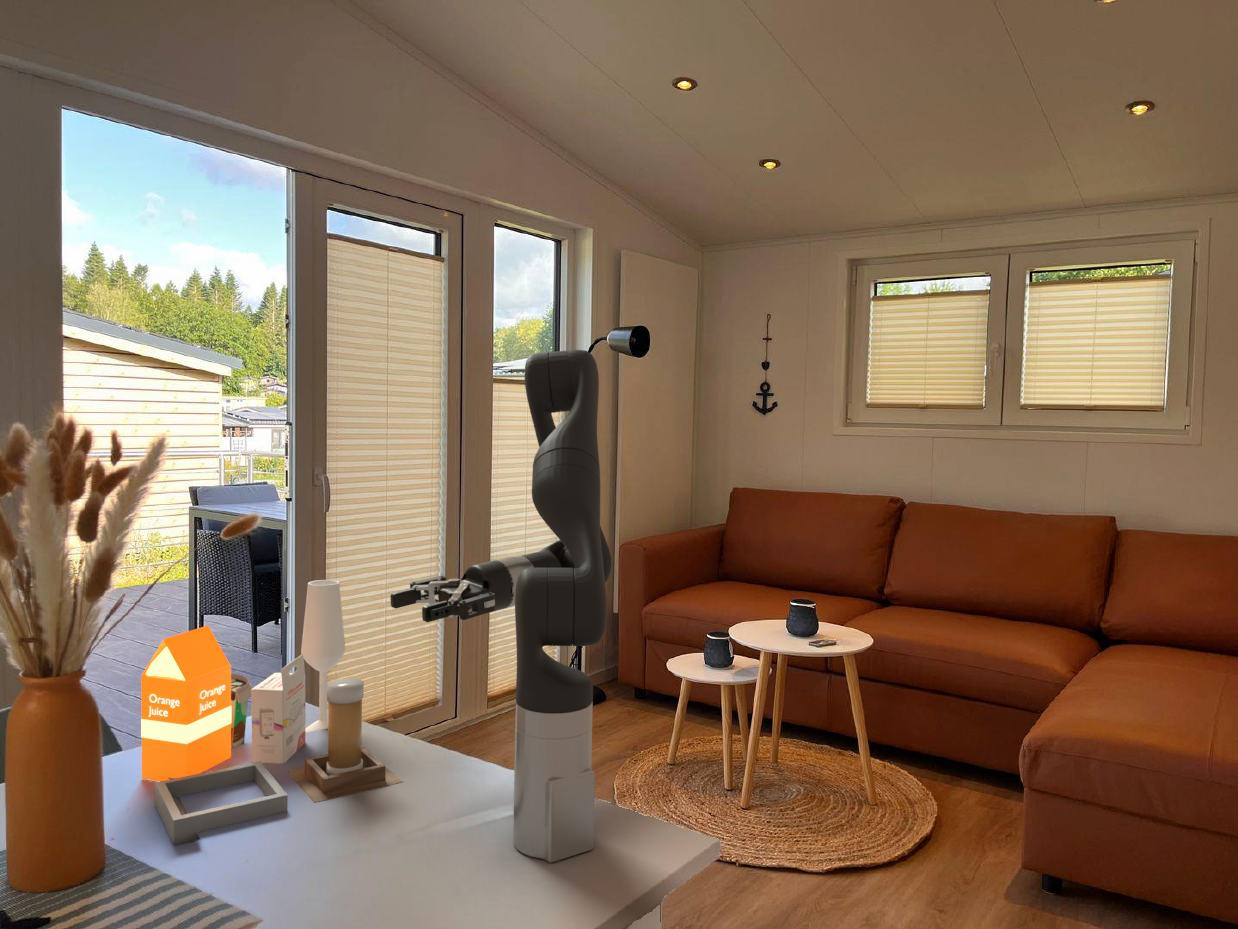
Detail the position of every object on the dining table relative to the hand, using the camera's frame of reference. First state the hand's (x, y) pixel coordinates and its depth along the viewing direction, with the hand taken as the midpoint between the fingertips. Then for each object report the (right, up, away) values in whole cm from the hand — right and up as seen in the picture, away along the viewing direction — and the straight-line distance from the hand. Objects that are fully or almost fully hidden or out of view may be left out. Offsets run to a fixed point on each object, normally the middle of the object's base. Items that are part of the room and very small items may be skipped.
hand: (407, 608), depth 126 cm
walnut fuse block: (-8, -24, -2) cm, 25 cm away
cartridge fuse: (-8, -23, -2) cm, 24 cm away
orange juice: (-31, -23, +1) cm, 39 cm away
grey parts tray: (-21, -24, -12) cm, 34 cm away
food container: (-31, -23, +12) cm, 40 cm away
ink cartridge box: (-20, -23, +6) cm, 32 cm away
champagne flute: (-18, -23, +18) cm, 34 cm away
